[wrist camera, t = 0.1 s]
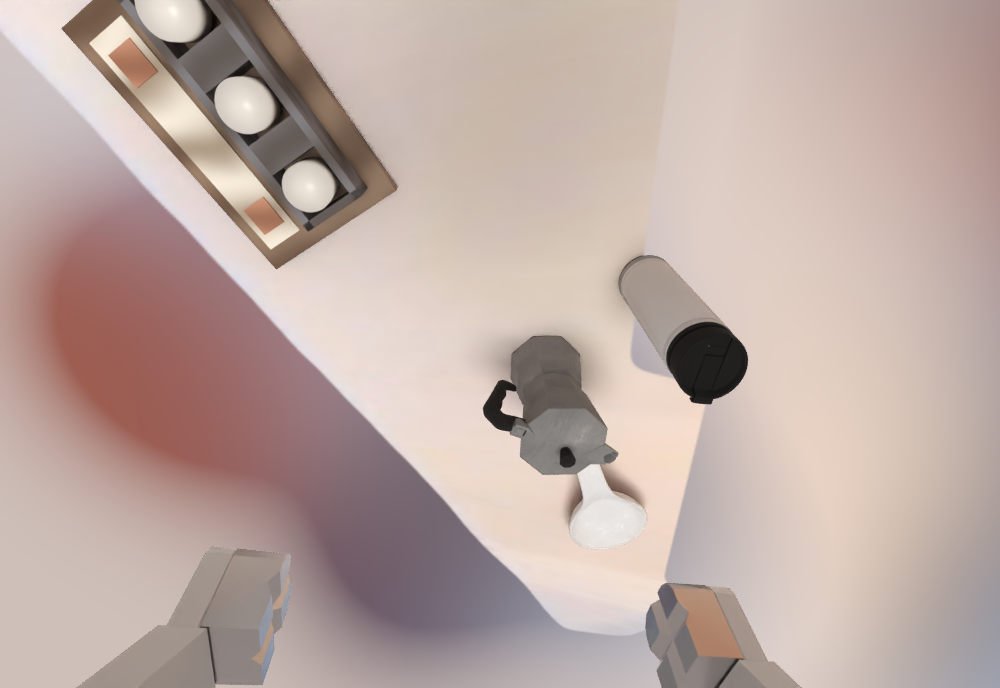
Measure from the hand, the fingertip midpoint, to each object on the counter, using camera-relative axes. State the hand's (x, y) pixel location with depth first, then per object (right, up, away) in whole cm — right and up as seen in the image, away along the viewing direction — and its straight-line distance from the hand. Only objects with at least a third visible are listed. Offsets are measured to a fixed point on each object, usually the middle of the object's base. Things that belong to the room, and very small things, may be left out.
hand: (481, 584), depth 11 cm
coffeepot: (+5, +3, +54) cm, 54 cm away
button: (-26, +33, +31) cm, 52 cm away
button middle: (-22, +27, +35) cm, 49 cm away
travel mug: (+17, +13, +49) cm, 54 cm away
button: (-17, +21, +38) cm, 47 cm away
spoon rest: (+14, -15, +65) cm, 68 cm away
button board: (-24, +27, +38) cm, 53 cm away
